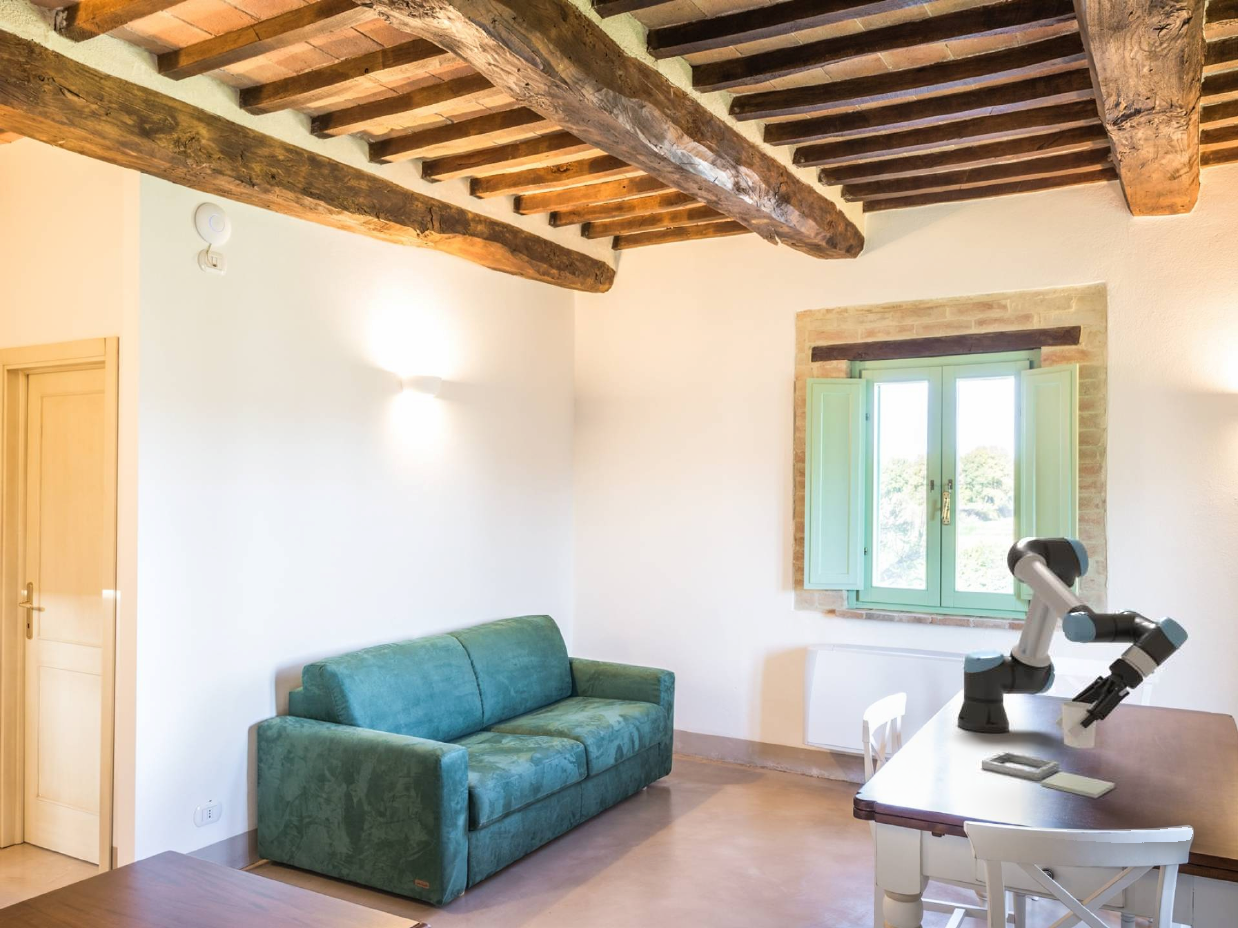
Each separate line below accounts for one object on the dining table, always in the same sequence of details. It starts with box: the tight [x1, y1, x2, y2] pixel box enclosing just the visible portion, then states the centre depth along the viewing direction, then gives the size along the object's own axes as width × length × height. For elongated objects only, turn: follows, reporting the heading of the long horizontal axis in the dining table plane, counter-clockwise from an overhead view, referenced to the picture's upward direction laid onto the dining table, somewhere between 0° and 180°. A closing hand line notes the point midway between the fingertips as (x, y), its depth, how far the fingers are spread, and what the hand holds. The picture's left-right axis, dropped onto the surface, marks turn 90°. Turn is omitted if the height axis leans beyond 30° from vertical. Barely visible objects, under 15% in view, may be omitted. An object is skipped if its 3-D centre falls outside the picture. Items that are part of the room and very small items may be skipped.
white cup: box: [1061, 701, 1097, 749], centre depth 239 cm, size 8×8×10 cm
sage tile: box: [1040, 771, 1115, 799], centre depth 239 cm, size 13×13×1 cm
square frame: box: [981, 750, 1059, 782], centre depth 253 cm, size 14×14×2 cm
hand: (1064, 730), depth 239 cm, fingers closed on white cup, 8 cm apart
